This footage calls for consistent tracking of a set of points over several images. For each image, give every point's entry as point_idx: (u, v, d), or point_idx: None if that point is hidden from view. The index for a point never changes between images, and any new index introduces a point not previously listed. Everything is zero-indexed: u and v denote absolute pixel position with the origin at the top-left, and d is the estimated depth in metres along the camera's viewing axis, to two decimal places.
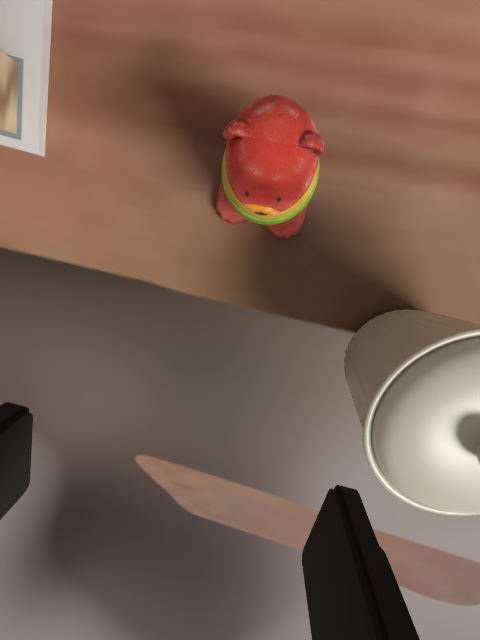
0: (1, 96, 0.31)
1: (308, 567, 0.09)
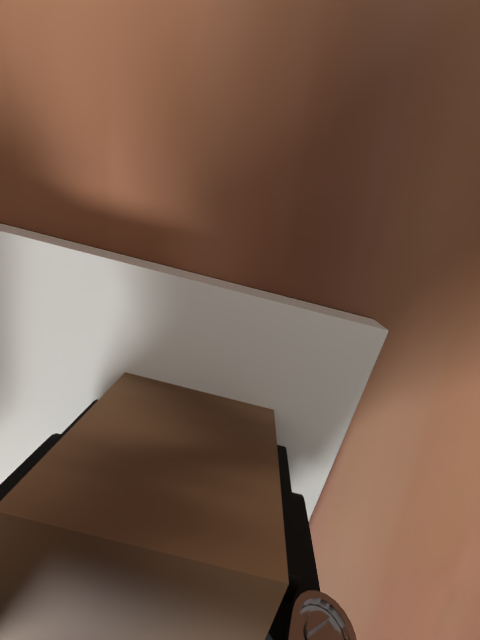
0: None
1: None
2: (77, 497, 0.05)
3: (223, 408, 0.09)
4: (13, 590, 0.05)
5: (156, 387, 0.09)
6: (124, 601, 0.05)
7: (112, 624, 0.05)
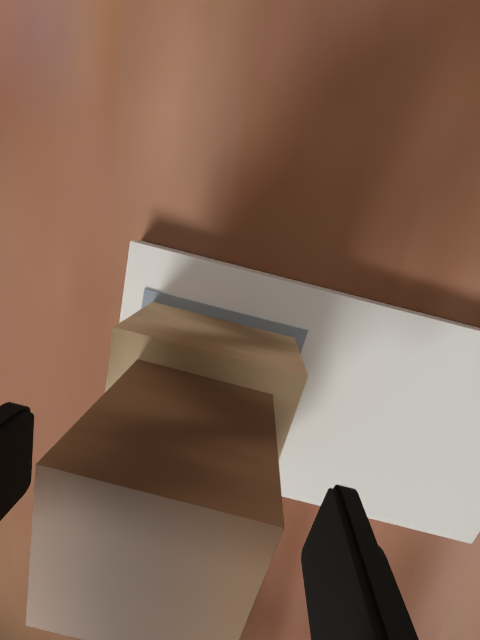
0: None
1: (307, 566, 0.09)
2: (105, 457, 0.06)
3: (226, 391, 0.10)
4: (50, 536, 0.06)
5: (166, 372, 0.10)
6: (144, 545, 0.06)
7: (134, 566, 0.06)
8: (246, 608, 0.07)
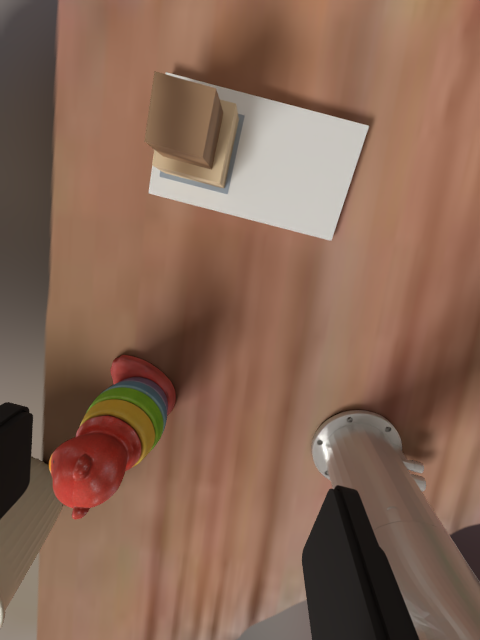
0: (185, 176, 0.31)
1: (308, 567, 0.09)
2: None
3: None
4: (155, 99, 0.24)
5: None
6: (180, 99, 0.23)
7: (177, 108, 0.24)
8: (207, 123, 0.24)
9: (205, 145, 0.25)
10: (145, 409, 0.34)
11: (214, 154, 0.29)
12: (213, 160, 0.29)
